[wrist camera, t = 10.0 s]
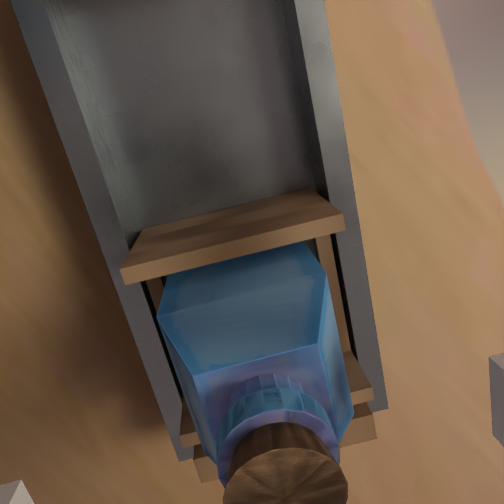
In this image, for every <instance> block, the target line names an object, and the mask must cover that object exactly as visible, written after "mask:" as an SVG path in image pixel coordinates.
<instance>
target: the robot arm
mask: <svg viewBox="0 0 504 504" xmlns="http://www.w3.org/2000/svg"><path fill="white" fill-rule="evenodd" d="M489 373H490V392H491V411H492V431H493V435H494V436H495V438H496V439H497V440H498V441H499V442H500V443H501V444H502V446H503V447H504V353H501V354H497V355H493V356H490V357H489ZM0 504H34V502H33V501H32V499H31V497H30V495H29V493H28V491H27V490H26V488H25V486H24V484H23V482H22V480H18V481H14V482H10V483H6V484H2V485H0Z"/></svg>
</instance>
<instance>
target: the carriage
mask: <svg viewBox="0 0 504 504" xmlns="http://www.w3.org/2000/svg"><path fill="white" fill-rule="evenodd" d="M344 230H346V229H345V223H344V217H343V213H342V212H340V211H339V210H338V209H337V208H335V207H334V206H333V205H332V204H330V203H329V202H328V201H327V200H325V199H324V198H323V197H322V196H320V195H319V194H318V193H316V192H315V191H314V190H313V189H311V188H307V189H303V190H299V191H295V192H291V193H287V194H283V195H279V196H275V197H271V198H267V199H263V200H259V201H255V202H251V203H247V204H243V205H239V206H235V207H231V208H227V209H223V210H219V211H215V212H211V213H206V214H202V215H198V216H194V217H190V218H186V219H182V220H178V221H174V222H170V223H166V224H162V225H158V226H154V227H150V228H146V229H143V230H142V232H141V233H140V235H139V237H138V239H137V240H136V242H135V244H134V245H133V247H132V249H131V251H130V252H129V254H128V256H127V257H126V259H125V261H124V262H123V264H122V266H121V268H120V272H121V275H122V278H123V280H124V283H125V285H128V284H132V283H136V282H140V281H144V280H146V283H147V286H148V289H149V292H150V295H151V298H152V301H153V303H154V306H155V309H156V312H157V313H158V310H159V306H160V302H161V299H162V295H163V291H164V288H165V284H166V280H167V277H168V274H172V273H176V272H180V271H184V270H188V269H192V268H196V267H200V266H204V265H208V264H212V263H216V262H220V261H224V260H228V259H232V258H236V257H240V256H244V255H248V254H252V253H256V252H260V251H264V250H268V249H272V248H276V247H280V246H284V245H288V244H292V243H296V242H300V241H304V242H305V243H306V245H307V246H308V248H309V249H310V251H311V252H312V253H313V255H314V256H315V258H316V259H317V261H318V262H319V264H320V265H321V266H322V268H323V269H324V271H325V272H326V274H327V279H328V284H329V289H330V294H331V299H332V304H333V309H334V314H335V319H336V324H337V329H338V334H339V339H340V344H341V349H342V354H343V359H344V364H345V369H346V374H347V379H348V384H349V389H350V394H351V399H352V404H353V409H354V415H353V417H352V419H351V421H350V424H349V426H348V428H347V430H346V432H345V434H344V437H343V439H342V441H341V443H340V444H339V446H340V448H341V447H345V446H349V445H353V444H357V443H361V442H365V441H369V440H373V439H377V436H376V430H375V424H374V418H373V414H372V412H371V410H370V408H369V406H368V404H367V401H371V400H374V395H373V389H372V386H371V384H370V382H369V381H368V379H367V377H366V375H365V374H364V372H363V370H362V369H361V367H360V365H359V363H358V362H357V360H356V358H355V356H354V355H353V353H352V351H351V348H350V342H349V337H348V331H347V326H346V320H345V315H344V309H343V304H342V298H341V293H340V287H339V282H338V276H337V271H336V265H335V260H334V254H333V249H332V243H331V238H330V234H332V233H336V232H340V231H344ZM179 437H180V440H181V442H182V445H183V448H186V447H190V446H194V454H193V461H194V464H195V466H196V469H197V472H198V475H199V478H200V481H201V483H204V482H208V481H211V480H215V479H219V477H218V470H217V465H216V464H215V463H214V462H213V461H212V460H211V459H210V458H209V457H208V456H207V455H206V454H205V453H204V451H203V448H202V445H201V443H200V440H199V437H198V434H197V431H196V428H195V426H194V423H193V420H192V417H191V414H190V411H189V408H188V406H187V403H186V400H185V397H184V395H183V404H182V414H181V424H180V433H179Z"/></svg>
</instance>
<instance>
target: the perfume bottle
mask: <svg viewBox="0 0 504 504" xmlns="http://www.w3.org/2000/svg"><path fill="white" fill-rule="evenodd" d="M157 320H158V323H159V326H160V329H161V332H162V334H163V337H164V340H165V343H166V346H167V349H168V352H169V354H170V357H171V360H172V363H173V366H174V369H175V371H176V374H177V377H178V380H179V383H180V386H181V389H182V391H183V394H184V397H185V400H186V403H187V406H188V408H189V411H190V414H191V417H192V420H193V423H194V426H195V428H196V431H197V434H198V437H199V440H200V443H201V445H202V448H203V451H204V453H205V454H206V455H207V456H208V457H209V458H210V459H211V460H212V461H213V462H214V463H215V464H216V465H217V470H218V477H219V479H220V481H221V483H222V484H223V486H224V488H225V492H224V496H223V504H346V502H347V499H348V483H347V481H346V478H345V476H344V474H343V472H342V470H341V468H340V466H339V462H340V446H339V444H340V443H341V441H342V439H343V437H344V434H345V432H346V430H347V428H348V426H349V424H350V421H351V419H352V417H353V415H354V409H353V404H352V399H351V394H350V389H349V384H348V379H347V374H346V369H345V364H344V359H343V354H342V349H341V344H340V339H339V334H338V329H337V324H336V319H335V314H334V309H333V304H332V299H331V294H330V289H329V284H328V279H327V274H326V272H325V271H324V269H323V268H322V266H321V265H320V264H319V262H318V261H317V259H316V258H315V256H314V255H313V253H312V252H311V251H310V249H309V248H308V246H307V245H306V243H305V242H304V241H300V242H296V243H292V244H288V245H284V246H280V247H276V248H272V249H268V250H264V251H260V252H256V253H252V254H248V255H244V256H240V257H236V258H232V259H228V260H224V261H220V262H216V263H212V264H208V265H204V266H200V267H196V268H192V269H188V270H184V271H180V272H176V273H172V274H168V277H167V280H166V284H165V288H164V291H163V295H162V299H161V302H160V306H159V310H158V313H157Z"/></svg>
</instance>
